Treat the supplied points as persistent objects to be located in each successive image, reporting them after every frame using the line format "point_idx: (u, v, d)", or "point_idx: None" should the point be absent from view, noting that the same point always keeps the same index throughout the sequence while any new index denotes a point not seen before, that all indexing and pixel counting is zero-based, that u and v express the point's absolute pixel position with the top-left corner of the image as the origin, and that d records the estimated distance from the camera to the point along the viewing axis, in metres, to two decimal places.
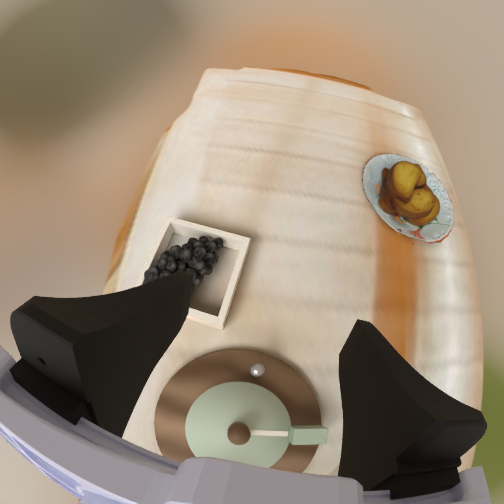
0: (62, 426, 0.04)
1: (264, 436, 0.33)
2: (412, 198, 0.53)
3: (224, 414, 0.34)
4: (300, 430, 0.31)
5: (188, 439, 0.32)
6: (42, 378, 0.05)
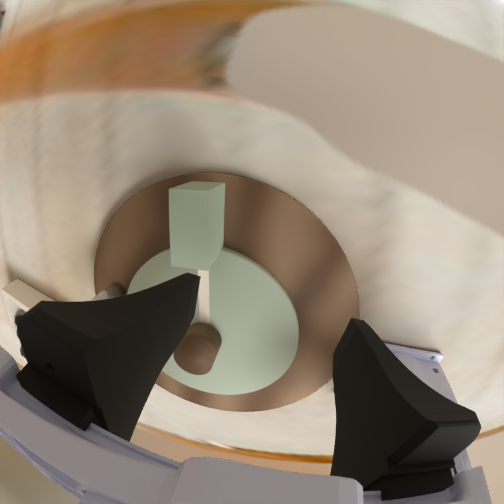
0: (62, 426, 0.04)
1: (210, 297, 0.21)
2: None
3: None
4: (173, 252, 0.17)
5: (233, 393, 0.24)
6: (50, 384, 0.05)
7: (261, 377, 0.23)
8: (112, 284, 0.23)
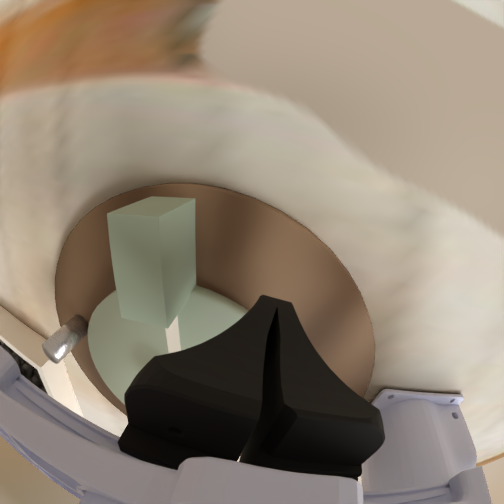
0: (62, 426, 0.04)
1: (182, 347, 0.15)
2: None
3: None
4: (122, 301, 0.11)
5: None
6: (167, 445, 0.05)
7: None
8: (73, 318, 0.18)
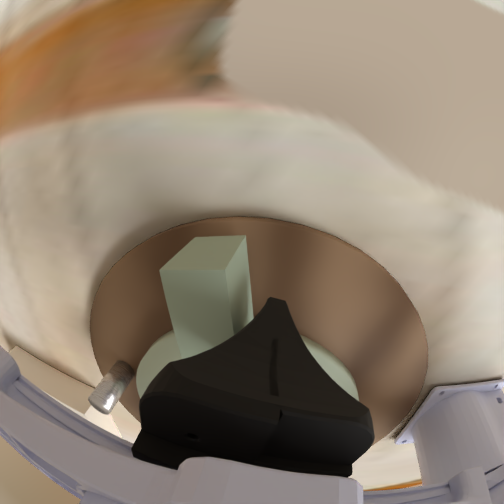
0: (62, 426, 0.04)
1: None
2: None
3: None
4: (186, 356, 0.11)
5: None
6: (182, 450, 0.05)
7: None
8: (116, 365, 0.18)
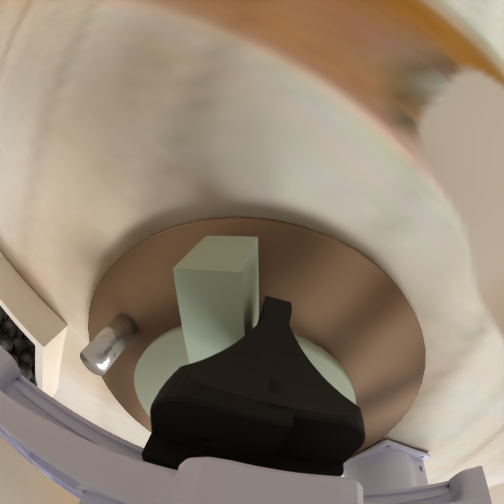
0: (62, 426, 0.04)
1: None
2: None
3: None
4: (192, 356, 0.11)
5: None
6: (193, 454, 0.05)
7: None
8: (122, 319, 0.16)
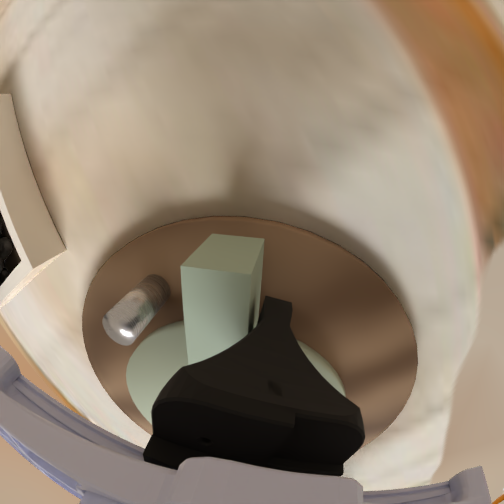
0: (62, 426, 0.04)
1: None
2: None
3: None
4: (192, 354, 0.11)
5: None
6: (194, 454, 0.05)
7: None
8: (160, 284, 0.14)
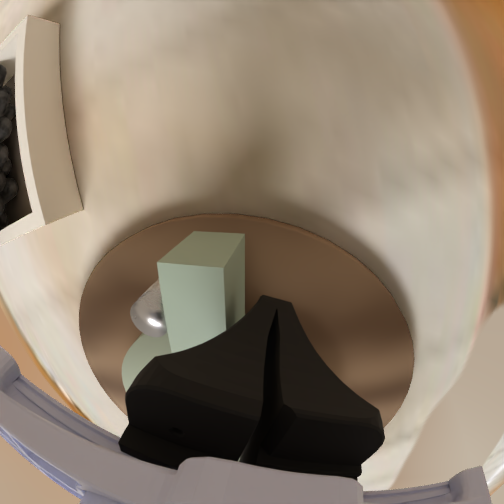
0: (62, 426, 0.04)
1: None
2: None
3: None
4: (175, 350, 0.11)
5: None
6: (168, 445, 0.05)
7: None
8: None
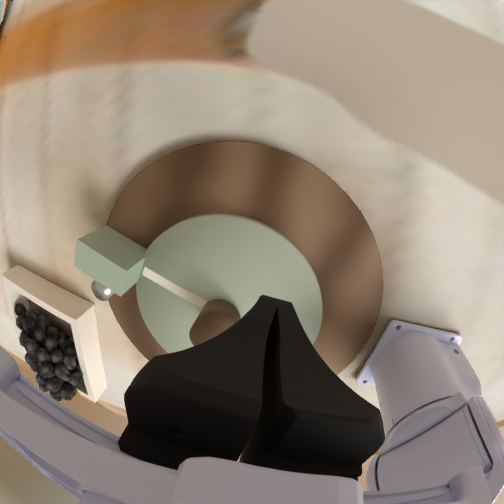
0: (62, 426, 0.04)
1: (181, 285, 0.21)
2: None
3: None
4: (111, 288, 0.19)
5: (316, 329, 0.20)
6: (167, 445, 0.05)
7: (301, 287, 0.19)
8: None
